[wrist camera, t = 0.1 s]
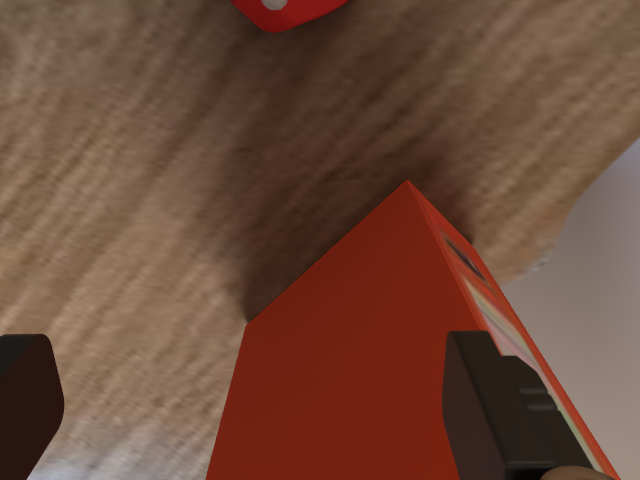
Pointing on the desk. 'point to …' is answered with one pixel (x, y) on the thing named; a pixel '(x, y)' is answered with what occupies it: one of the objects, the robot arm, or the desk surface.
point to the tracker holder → (285, 12)
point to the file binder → (370, 357)
